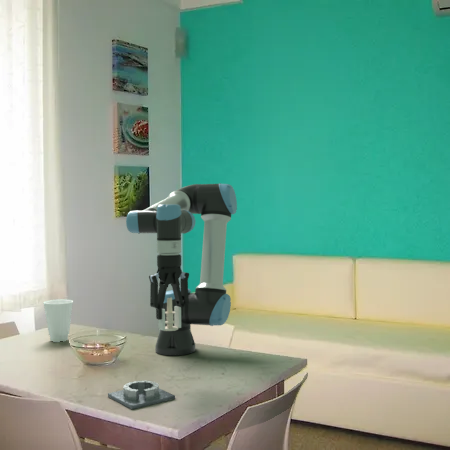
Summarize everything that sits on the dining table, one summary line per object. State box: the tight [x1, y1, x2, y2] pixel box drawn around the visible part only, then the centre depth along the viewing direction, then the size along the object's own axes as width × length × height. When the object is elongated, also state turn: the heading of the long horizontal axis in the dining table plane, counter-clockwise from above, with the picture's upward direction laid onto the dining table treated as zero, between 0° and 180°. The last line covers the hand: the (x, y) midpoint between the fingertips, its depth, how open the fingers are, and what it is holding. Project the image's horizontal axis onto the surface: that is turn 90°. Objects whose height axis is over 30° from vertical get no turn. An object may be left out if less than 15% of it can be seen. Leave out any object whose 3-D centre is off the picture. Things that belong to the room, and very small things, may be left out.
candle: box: [164, 296, 178, 331], centre depth 187 cm, size 5×5×10 cm
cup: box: [43, 299, 74, 343], centre depth 247 cm, size 12×12×16 cm
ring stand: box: [107, 380, 176, 410], centre depth 173 cm, size 14×14×4 cm
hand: (169, 328), depth 187 cm, fingers closed on candle, 5 cm apart
